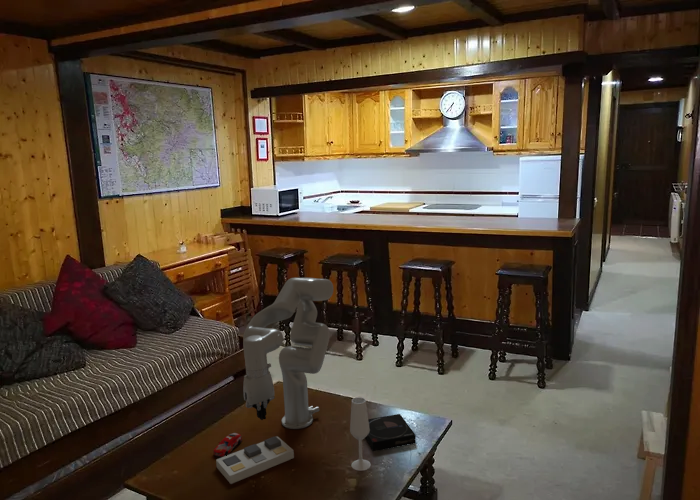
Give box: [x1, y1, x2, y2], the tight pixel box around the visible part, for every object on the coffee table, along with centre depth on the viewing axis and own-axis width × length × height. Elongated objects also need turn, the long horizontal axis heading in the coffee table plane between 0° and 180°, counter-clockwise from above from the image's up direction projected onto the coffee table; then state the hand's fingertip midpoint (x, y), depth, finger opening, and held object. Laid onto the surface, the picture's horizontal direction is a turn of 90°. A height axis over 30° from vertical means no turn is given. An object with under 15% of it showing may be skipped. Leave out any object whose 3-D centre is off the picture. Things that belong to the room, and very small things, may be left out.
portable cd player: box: [364, 413, 417, 452], centre depth 202 cm, size 16×17×4 cm
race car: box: [213, 432, 243, 458], centre depth 198 cm, size 13×5×4 cm, turn 155°
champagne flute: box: [349, 396, 372, 472], centre depth 182 cm, size 7×7×24 cm
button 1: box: [223, 455, 240, 466], centre depth 185 cm, size 4×4×3 cm
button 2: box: [263, 436, 281, 450], centre depth 194 cm, size 4×4×3 cm
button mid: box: [243, 443, 261, 458], centre depth 189 cm, size 4×4×3 cm
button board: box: [215, 435, 295, 485], centre depth 188 cm, size 24×12×3 cm, turn 126°
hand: (262, 417), depth 190 cm, fingers closed
